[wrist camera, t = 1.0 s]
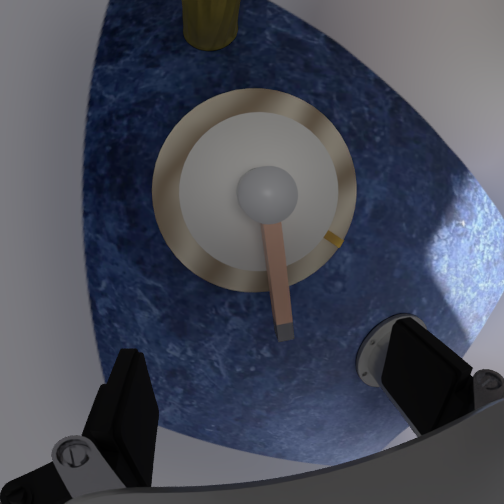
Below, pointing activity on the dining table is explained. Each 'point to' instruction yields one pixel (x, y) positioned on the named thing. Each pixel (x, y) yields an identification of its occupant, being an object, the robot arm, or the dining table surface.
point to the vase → (210, 23)
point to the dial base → (182, 144)
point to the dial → (260, 198)
